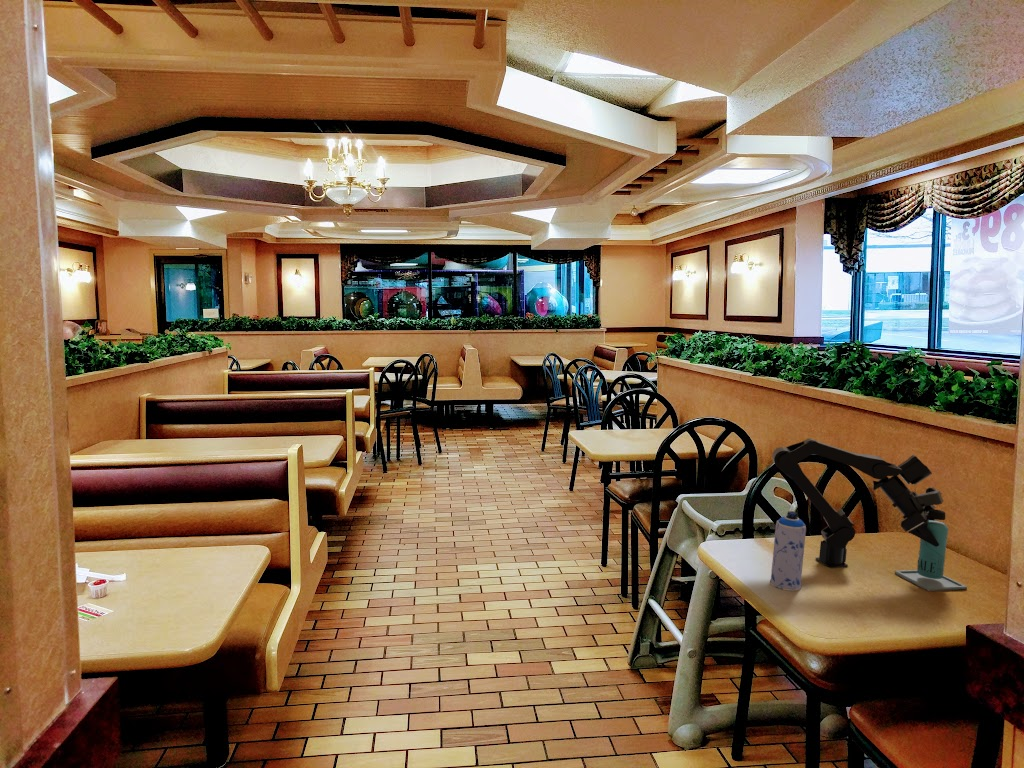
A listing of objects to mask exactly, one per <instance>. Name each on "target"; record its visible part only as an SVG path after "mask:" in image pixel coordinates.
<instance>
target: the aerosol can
mask: <svg viewBox="0 0 1024 768" xmlns="http://www.w3.org/2000/svg"><path fill="white" fill-rule="evenodd" d="M806 526H807V525H806V524H805V523H804V521H803V520H802V519H800V518H799V517H798V515H797V512H796V511H792V510H791V511H787V515H784V516H781V517H779V519H778V520H776V522H775V529H774V542H773V552H772V563H771V564H772V565H771V575H770V580H769V584H770V585H772V586H773V587H775V588H777V589H780V590H783V591H791V592H796V591H799V590H801V589H802V584H801V583H802V574H803V573H802V572H803V565H804V564H803V562H804V552H805V544H806V543H805V542H806V533H807V527H806Z"/></svg>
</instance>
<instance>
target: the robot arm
mask: <svg viewBox="0 0 1024 768" xmlns="http://www.w3.org/2000/svg"><path fill="white" fill-rule="evenodd" d="M811 455H816V456H819V457H821V458H824V459H828V460H831V461H833V462H837V463H839V464H843V465H846V466H848V467H852V468H855V469H856V470H858V471H859V472H862V473H863V474H865V475H867V476H869V477H872V479H876V480H877V481H876V480H872V491H876V490H878V489H880V490H881V491H882V492H883V493H884V494H885V496H886V497H887V498H888V499H889V500H890V501H891V502H892V507H893V508H897V509H898V511H899V512H900V513H901V514H902V515H903V516H902V518H903V519H902V520H901V521H900V522H901V523H900V527H901V528H902V530H903V532H905V533H908V534H911V535H913V536H914V537H917V538H919V539H920V538H921V539H922V540H924V541H926V542H928V543H930V544H932V545H933V546H935V547H937V546H939V545H940V544H939V543H938V541H937V539H936V538H935V536H934V535H933V533H932V531H931V530H930V528H929V520H933V521H937V520H936V519H932V518H929V517H928V513H929V510H930V509H936V507H935V506H937V505H941V504H943V502H944V499H943V496H942V492H941V491H940V489H936V488H934V487H933V486H931V487H927V488H926V489H925V492H923V493H920V494H918V493H917V492H916V491H914V490H911V489H909V487H908V486H907V485H910V484H911V485H913V486H916V485H917V484H919V483H920V482H922V481H923V480H925V479H926V478H928V477H930V476H931V475H932V474H933V472H932V471H931V470H930V468H929V467H928V466H927V465H926V464H924V463H923V462H922V461H921V460H920V459H919V458H918V457H917V456H916V455H914V454H912V455H911V456H909V457H908V458H907V459H906V460H904V461H902V462H901V463H899V464H898V465H896V464H895V463H892V462H888V461H886V460H884V459H883V458H882V457H881V456H879V455H873V454H865V453H857V452H856V453H855V452H852V451H849V450H846V449H842V448H839V447H836V446H833V445H831V444H827V443H824V442H822V441H818V440H815V439H814V438H807V439H805V440H803V441H799V442H796V443H793V444H790V445H788V446H786V447H785V446H779V447H777V448H775V449H774V450H773V452H772V455H771V458H772V460H773V463H774V464H775V467H776V468H778V469H779V470H780V471H781V472H782V473H783V474H785V475H786V476H787V477H789V478H790V479H791V480H792V481H794V483H795V484H796V486H798V488H799V489H800V490H801V491H802V493H803V494H804V495H805V496H806V497H807V499H808V500H809V501H810V503H812V504H813V506H814V507H815V508H816V509H817V511H818V512H819V513H820V514H821V515H822V517H823V519H824V521H825V522H826V524H827V526H826V527H824V528H823V529H822V530H821V531H820V533H821V537H822V539H823V540H821V541H820V543H819V544H820V545H819V546H820V547H819V556H818V557H815V560H816V561H818V562H819V563H821V564H823V565H825V566H826V567H829V568H845V567H848V566H849V564H847V563H846V560H847V551H848V550H847V545H848V544H849V542H851V541H852V540H853V539H854V538H855V535H856V529H855V528H854V527H855V523H854V522H853V521H852V520H851V518H850V517H848V516H847V515H846V513H845V512H844V511H843V509H842V508H839V510H836V508H834V507H833V506H832V505H831V504H830V502H828V500H827V499H826V498H825V496H824V495H823V494H822V493H821V492H820V491H819V489H818V488H817V487H816V486H815V485H814V484H813V482H812V481H811V480H810V479H809V477H808V476H807V475H806V474H805V473H804V471H803V469H802V468H801V466H800V464H799V462H801V461H803V460H804V459H806V458H807V457H809V456H811ZM899 476H900V477H901V478H900V477H899ZM903 481H904V482H905V483H906V484H905V483H904V482H903Z"/></svg>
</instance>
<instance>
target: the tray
mask: <svg viewBox="0 0 1024 768" xmlns="http://www.w3.org/2000/svg"><path fill="white" fill-rule="evenodd" d="M894 574H895V575H896V576H898V577H901V578H902V579H904V580H906V581H908V582H910V583H912V584H913V585H916V586H917V587H920V588H921V589H922V590H924V591H927V592H940V591H941V592H944V591H966V590H968V586H967V585H965V584H963V583H961V582H959V581H957V580H955V579H953V578H950V577H949V576H946V575H944V574H943V577H942V578H941V579H932V578H927V577H924V576H922V575H920V574H918V572H917V569H910V570H909V569H905V570H904V569H903V570H895V571H894Z"/></svg>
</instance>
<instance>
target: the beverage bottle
mask: <svg viewBox="0 0 1024 768" xmlns="http://www.w3.org/2000/svg"><path fill="white" fill-rule="evenodd" d="M928 517H929V518H932V519H935V520H936V521H933V520H929V528H930V530H931V531H932V533H933V535H934V536H935V538H936V539H937V541H938V543H939V544H940V545H939V546H937V547H935V546H933V545H932V544H930V543H928V542H926V541H924V540H922V539H921V538H919V539H920V542H919V550H918V559H917V565H916V566H917V568H916V570H917V572H918V574H920V575H922V576H924V577H927V578H932V579H941V578H942V577H943V575H944V573H945V570H944V569H945V563H946V552H947V551H946V550H947V549H946V548H947V542H948V535H949V530H950V529H949V527H948V526H947V525H946V524H945V523H944V522H942V521H945V520H946V512H945V511H943V510H941V509H936V508H935V509H930V510H929V513H928Z"/></svg>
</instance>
